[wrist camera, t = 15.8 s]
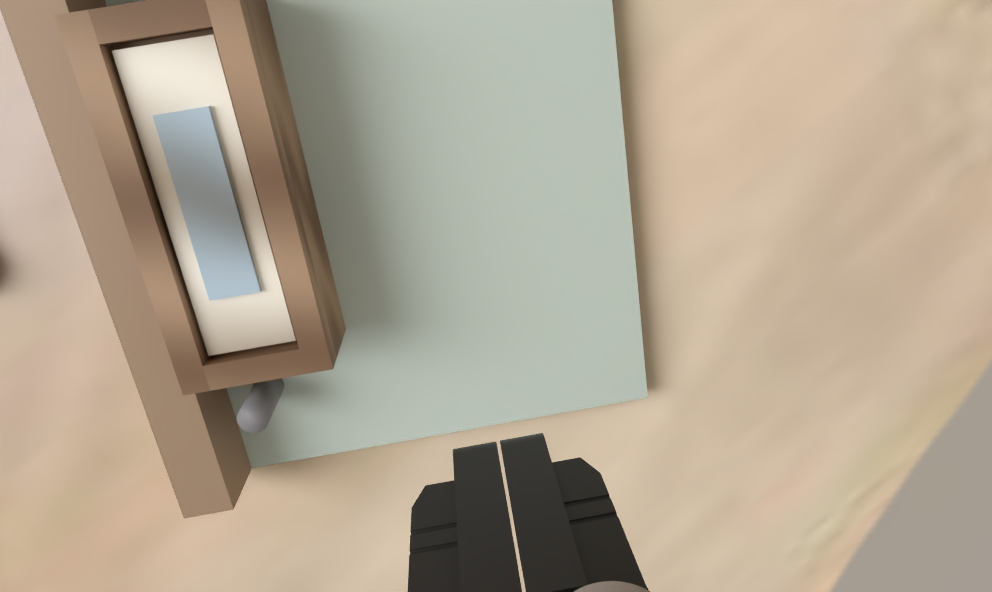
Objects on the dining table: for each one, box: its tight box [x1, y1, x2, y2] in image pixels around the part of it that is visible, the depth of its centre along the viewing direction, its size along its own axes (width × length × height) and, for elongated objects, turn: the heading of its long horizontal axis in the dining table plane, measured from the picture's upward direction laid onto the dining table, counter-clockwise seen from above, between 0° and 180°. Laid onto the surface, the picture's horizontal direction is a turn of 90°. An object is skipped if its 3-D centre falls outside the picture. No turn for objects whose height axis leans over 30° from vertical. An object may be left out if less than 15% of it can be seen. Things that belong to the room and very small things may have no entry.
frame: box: [55, 0, 346, 396], centre depth 25 cm, size 13×6×4 cm, turn 9°
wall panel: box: [0, 0, 648, 518], centre depth 26 cm, size 24×20×4 cm
